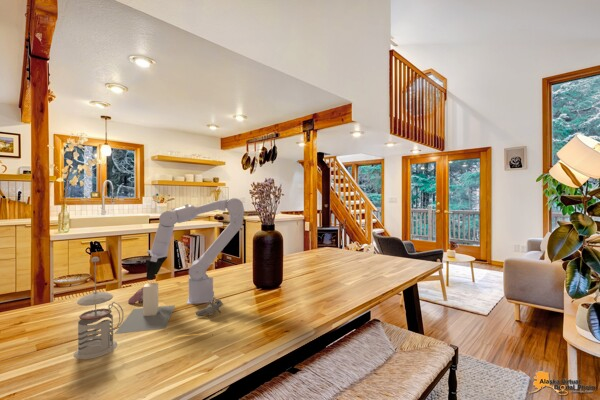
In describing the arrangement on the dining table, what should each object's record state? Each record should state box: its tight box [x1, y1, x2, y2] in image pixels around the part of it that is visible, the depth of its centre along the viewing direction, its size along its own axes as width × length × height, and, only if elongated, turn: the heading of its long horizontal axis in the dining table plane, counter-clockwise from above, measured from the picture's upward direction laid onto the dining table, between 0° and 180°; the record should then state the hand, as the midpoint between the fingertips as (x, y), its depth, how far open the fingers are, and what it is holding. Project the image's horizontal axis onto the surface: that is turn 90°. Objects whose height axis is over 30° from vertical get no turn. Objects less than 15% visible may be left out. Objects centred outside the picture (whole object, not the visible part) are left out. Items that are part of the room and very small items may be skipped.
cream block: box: [142, 282, 159, 316], centre depth 103 cm, size 4×4×10 cm
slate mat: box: [113, 304, 176, 335], centre depth 99 cm, size 14×20×1 cm
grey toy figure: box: [195, 298, 224, 319], centre depth 101 cm, size 10×6×9 cm
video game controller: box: [127, 287, 143, 305], centre depth 117 cm, size 10×5×7 cm, turn 169°
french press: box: [73, 256, 124, 360], centre depth 79 cm, size 10×12×25 cm
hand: (152, 276), depth 112 cm, fingers open, 7 cm apart
